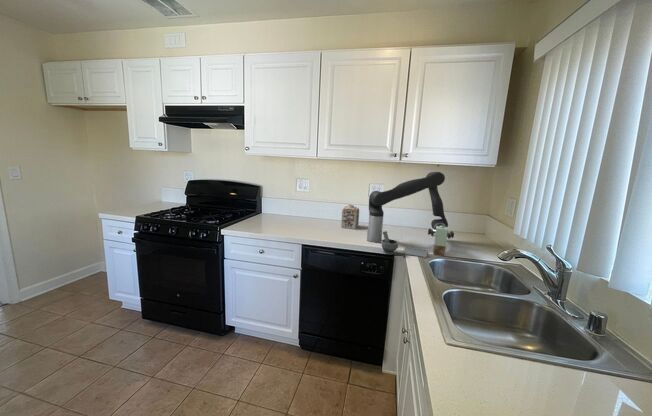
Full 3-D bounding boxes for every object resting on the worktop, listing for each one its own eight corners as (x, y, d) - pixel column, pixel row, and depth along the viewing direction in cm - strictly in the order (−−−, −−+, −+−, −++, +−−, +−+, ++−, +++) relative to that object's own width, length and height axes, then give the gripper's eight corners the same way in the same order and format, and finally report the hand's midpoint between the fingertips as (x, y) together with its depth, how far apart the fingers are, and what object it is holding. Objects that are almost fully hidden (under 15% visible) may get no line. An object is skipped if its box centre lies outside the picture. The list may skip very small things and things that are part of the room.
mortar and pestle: (400, 254, 157) (402, 234, 155) (388, 256, 153) (389, 236, 151) (388, 248, 167) (389, 229, 165) (375, 250, 163) (377, 231, 161)
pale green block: (434, 245, 158) (436, 226, 156) (434, 242, 163) (436, 224, 161) (445, 246, 156) (447, 227, 154) (445, 243, 161) (447, 225, 159)
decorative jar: (340, 227, 213) (341, 205, 209) (344, 224, 224) (345, 203, 220) (355, 229, 209) (357, 206, 206) (358, 226, 220) (360, 204, 217)
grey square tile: (403, 254, 158) (403, 253, 158) (405, 247, 170) (405, 246, 169) (426, 258, 153) (426, 257, 153) (427, 251, 165) (427, 250, 165)
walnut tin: (433, 254, 159) (434, 241, 157) (433, 251, 164) (434, 238, 163) (444, 256, 157) (446, 243, 155) (444, 253, 162) (445, 240, 161)
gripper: (428, 222, 173) (428, 228, 159) (453, 225, 169) (455, 231, 154) (427, 233, 175) (427, 240, 160) (451, 236, 170) (453, 244, 155)
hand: (441, 236), depth 157 cm, fingers open, 8 cm apart
